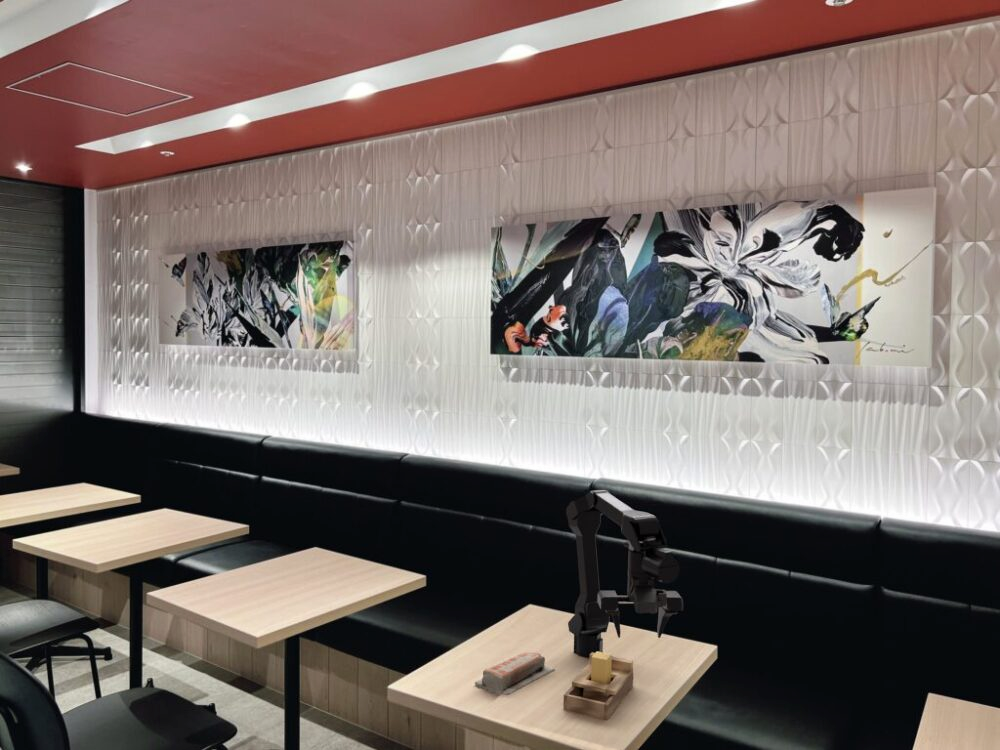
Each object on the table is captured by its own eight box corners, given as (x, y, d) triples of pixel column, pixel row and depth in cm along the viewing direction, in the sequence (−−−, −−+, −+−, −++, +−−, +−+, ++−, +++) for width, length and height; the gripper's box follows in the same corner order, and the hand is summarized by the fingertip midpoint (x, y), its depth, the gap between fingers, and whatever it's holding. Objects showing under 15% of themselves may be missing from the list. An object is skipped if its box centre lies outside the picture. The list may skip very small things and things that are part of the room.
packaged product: (507, 679, 176) (474, 667, 183) (507, 700, 177) (474, 687, 183) (555, 655, 190) (523, 644, 196) (555, 675, 190) (523, 663, 197)
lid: (571, 685, 174) (572, 672, 174) (591, 663, 186) (592, 651, 186) (615, 695, 170) (615, 682, 170) (633, 672, 182) (633, 660, 181)
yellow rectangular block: (590, 697, 176) (591, 656, 176) (596, 690, 179) (596, 651, 179) (605, 700, 175) (606, 659, 174) (610, 694, 178) (611, 654, 177)
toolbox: (563, 712, 170) (563, 694, 170) (591, 680, 186) (592, 664, 186) (607, 723, 166) (607, 705, 166) (632, 689, 182) (633, 672, 182)
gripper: (605, 581, 171) (603, 651, 172) (691, 581, 172) (688, 651, 173) (597, 565, 182) (596, 631, 183) (678, 566, 183) (675, 632, 184)
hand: (638, 637), depth 180 cm, fingers open, 9 cm apart
